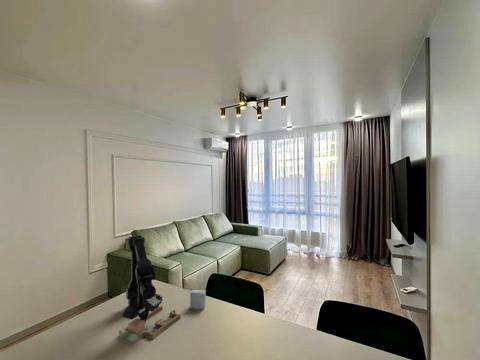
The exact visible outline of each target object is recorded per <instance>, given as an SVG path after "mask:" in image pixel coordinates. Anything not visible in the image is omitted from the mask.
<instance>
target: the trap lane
mask: <svg viewBox="0 0 480 360" xmlns="http://www.w3.org/2000/svg"><path fill="white" fill-rule="evenodd" d="M161 311H163V306H162V305H159V307H158V308H157V309H155V310H154V311H149V314H148V316H147V319H146V321H147V320H149V319H151V318H152V317H154V316H156V315H157V314H158V313H160V312H161ZM181 318H182V317H181V313H176V309H172V310H171V311H170V312H169V317H168V318H167V319H164V318H160V319H157V321H155V322H154V328H153V329H151V330H150V331H149V330H147V329H145V330H144V331H142V332H141V333H139V334H138V335H135V334H133V333H130V332H128V326H126V327H125V328H120V329H119V330H118V337H121V338H123V339H125V340H127V341H130V342H131V343H134V344H136V343H137V342H138V341H139V340H141V339H142V338H144V337H146V338H149V339H151V340H154V339H155V338H157V337H158V336H159V335H161V334H162V333H163V332H165V331H166V330H167V329H168V328H170V327H171V326H173V324H175V323H176V322H177V321H178V320H180V319H181Z"/></svg>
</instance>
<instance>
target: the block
mask: <svg viewBox="0 0 480 360" xmlns="http://www.w3.org/2000/svg"><path fill="white" fill-rule="evenodd" d="M127 327H128V332H130V333H133V334H135V335H138V334H139V333H141V332H142V331H144V330H146V329H145V328H146V322H145V321H144V320H142V319H140V318H138V317H136V318H134V319H132V321H131V322H129V323H128V324H127Z"/></svg>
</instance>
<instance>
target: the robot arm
mask: <svg viewBox="0 0 480 360" xmlns="http://www.w3.org/2000/svg"><path fill="white" fill-rule="evenodd" d="M145 243H146V242H145V237H144V236H142V235H134V236H133V235H132V236H129V238H127V239H126V245H127V248H128V249H129V251H130V255H131V257H130V260H131V261H130V262H131V265H130V270H131V271H130V273H131V274H130V279H129V282H128V285H127V288H126V289H125V290H126V291H125V298H126V300H128V302H127V306H126V307H125V309H124V311H122V317H123V318H126V319H128V320H135V319H136V318H138V317H139V319H142V320H144V321H145V323H146V322H147V320H148V319H147V316H148V314H149V313H150V312H152V311H154V310H155V309H157V308H158V307H160V305H161V304H162V302H163V296H162V295H161V294H158V293H157V288H156V287H155V286H154V284H153V283H152V281H153V280H156V279H155V278H156V275H157V274H156V271H155V267H154V265H153V264H152V260H150V259H148V256H147V252H146V251H147V250H146V249H145V247H146V246H145ZM146 319H147V320H146Z"/></svg>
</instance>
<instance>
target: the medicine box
mask: <svg viewBox="0 0 480 360" xmlns="http://www.w3.org/2000/svg"><path fill="white" fill-rule="evenodd" d="M206 293H207V290H205V289H204V290H203V289H192V290H191V291H190V298H189V300H190V303H189V305H190V309H197V310H205V308H206V306H207V303H206V301H207V300H206V299H207V297H206V295H207V294H206Z"/></svg>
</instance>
